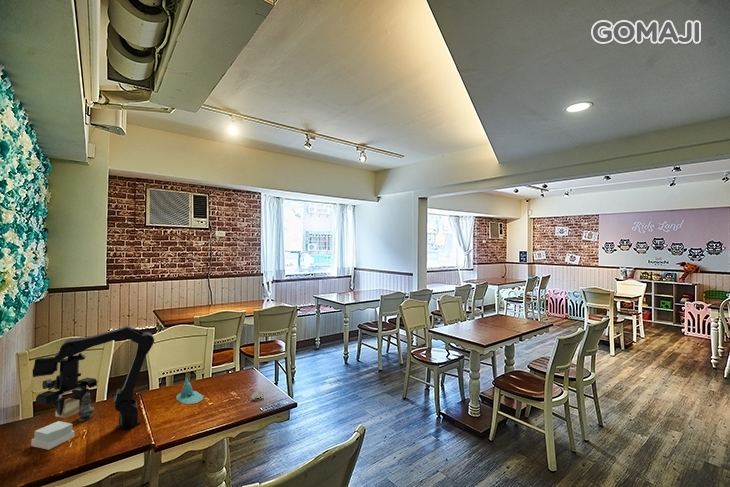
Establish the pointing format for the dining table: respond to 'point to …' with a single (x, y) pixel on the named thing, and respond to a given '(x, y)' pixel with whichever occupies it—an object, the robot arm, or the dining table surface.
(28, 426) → the dining table surface
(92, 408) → the grey stone pagoda
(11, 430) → the dining table surface
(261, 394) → the car cutout
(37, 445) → the tower base block
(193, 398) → the teal witch hat
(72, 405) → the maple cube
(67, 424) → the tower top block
